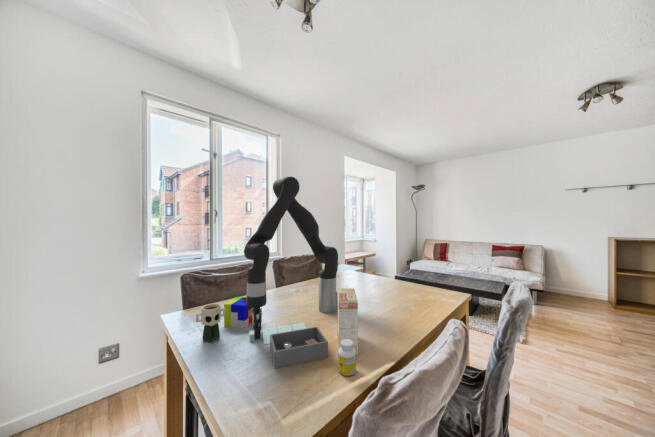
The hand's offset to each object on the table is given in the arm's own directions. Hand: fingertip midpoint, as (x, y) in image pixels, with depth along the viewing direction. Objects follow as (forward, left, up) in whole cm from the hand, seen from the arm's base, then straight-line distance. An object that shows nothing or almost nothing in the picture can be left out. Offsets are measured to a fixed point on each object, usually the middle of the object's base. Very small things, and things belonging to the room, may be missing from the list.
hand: (256, 333), depth 93 cm
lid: (-9, 0, -2) cm, 9 cm away
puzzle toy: (+6, -19, -3) cm, 20 cm away
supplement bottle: (-25, +31, -2) cm, 40 cm away
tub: (-13, +16, -2) cm, 21 cm away
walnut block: (-18, +17, -1) cm, 24 cm away
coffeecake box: (-32, +16, -2) cm, 36 cm away
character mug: (+17, -7, -2) cm, 19 cm away
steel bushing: (-10, +14, -1) cm, 17 cm away
